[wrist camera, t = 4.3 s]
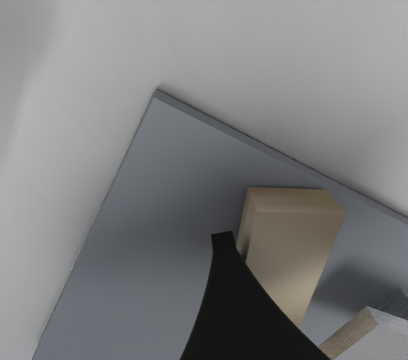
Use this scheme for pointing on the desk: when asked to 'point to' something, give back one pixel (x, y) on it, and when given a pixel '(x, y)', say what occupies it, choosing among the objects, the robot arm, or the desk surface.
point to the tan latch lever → (288, 242)
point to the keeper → (373, 332)
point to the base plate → (203, 242)
